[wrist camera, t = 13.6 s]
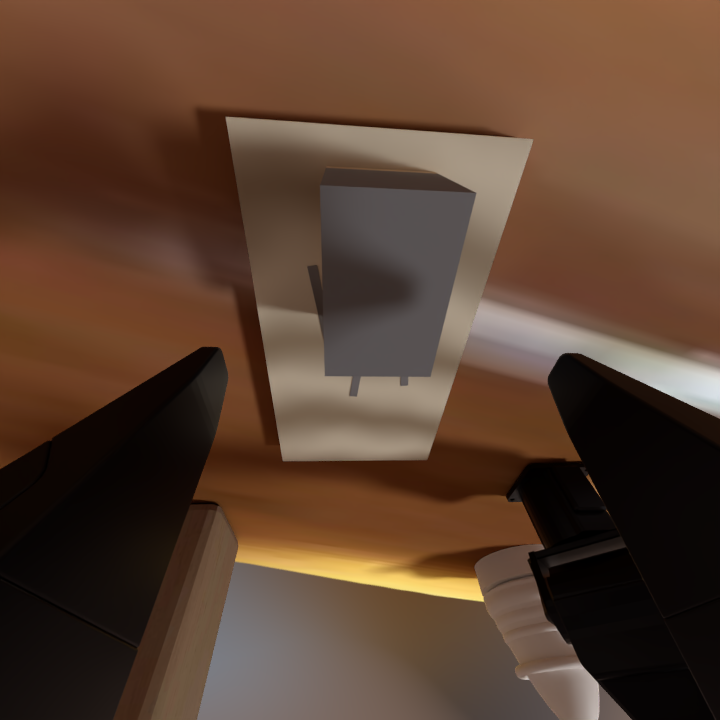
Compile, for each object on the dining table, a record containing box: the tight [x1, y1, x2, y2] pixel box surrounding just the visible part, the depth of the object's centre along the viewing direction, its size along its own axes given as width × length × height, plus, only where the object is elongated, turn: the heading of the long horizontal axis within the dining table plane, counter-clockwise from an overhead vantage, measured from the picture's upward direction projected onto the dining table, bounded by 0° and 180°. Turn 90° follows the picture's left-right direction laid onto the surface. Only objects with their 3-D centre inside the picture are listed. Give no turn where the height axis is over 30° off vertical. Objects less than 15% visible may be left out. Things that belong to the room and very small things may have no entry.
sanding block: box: [320, 166, 476, 377], centre depth 13 cm, size 7×4×5 cm, turn 177°
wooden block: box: [113, 504, 238, 720], centre depth 26 cm, size 10×10×20 cm
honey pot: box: [474, 544, 599, 720], centre depth 39 cm, size 13×13×18 cm
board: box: [226, 117, 534, 461], centre depth 19 cm, size 22×12×2 cm, turn 177°
